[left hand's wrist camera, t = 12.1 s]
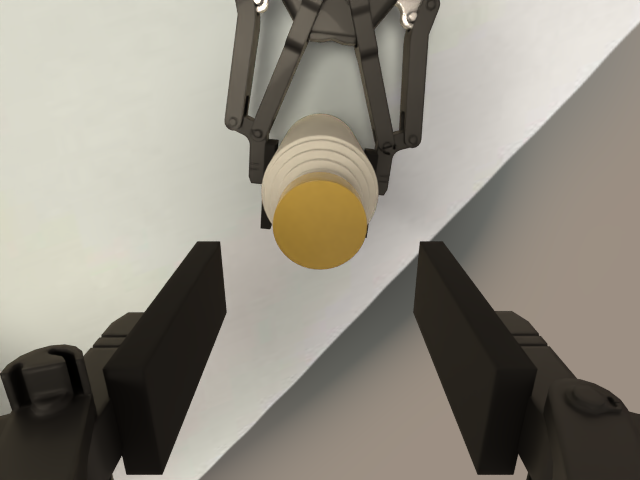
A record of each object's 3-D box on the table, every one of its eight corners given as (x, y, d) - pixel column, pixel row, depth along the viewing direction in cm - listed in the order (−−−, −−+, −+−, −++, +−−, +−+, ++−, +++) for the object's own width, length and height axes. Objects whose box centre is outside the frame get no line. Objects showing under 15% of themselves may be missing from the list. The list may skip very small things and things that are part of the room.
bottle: (319, 96, 36) (318, 116, 18) (373, 152, 38) (423, 222, 20) (266, 153, 38) (216, 225, 20) (320, 204, 40) (321, 313, 21)
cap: (319, 152, 20) (318, 159, 18) (381, 213, 21) (386, 226, 19) (258, 215, 21) (253, 227, 19) (320, 270, 22) (320, 286, 20)
